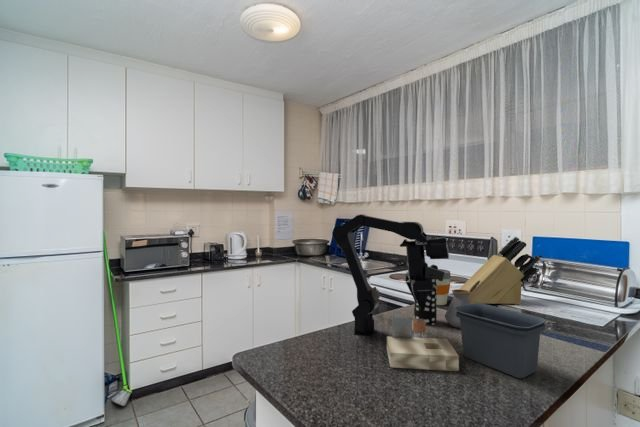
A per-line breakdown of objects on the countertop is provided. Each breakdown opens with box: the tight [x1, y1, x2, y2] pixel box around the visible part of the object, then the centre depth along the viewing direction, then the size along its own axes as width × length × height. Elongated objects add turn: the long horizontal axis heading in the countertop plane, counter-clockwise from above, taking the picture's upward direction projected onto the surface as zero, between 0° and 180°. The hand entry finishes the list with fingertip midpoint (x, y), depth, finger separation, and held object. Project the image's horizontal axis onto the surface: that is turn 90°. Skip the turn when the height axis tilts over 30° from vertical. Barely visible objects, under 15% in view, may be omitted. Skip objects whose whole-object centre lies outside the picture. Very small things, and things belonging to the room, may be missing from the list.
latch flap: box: [391, 316, 413, 338], centre depth 100 cm, size 6×6×1 cm
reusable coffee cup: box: [437, 268, 452, 306], centre depth 154 cm, size 13×13×15 cm
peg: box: [412, 318, 427, 338], centre depth 108 cm, size 4×4×7 cm
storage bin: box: [455, 303, 548, 379], centre depth 92 cm, size 21×16×14 cm
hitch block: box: [386, 335, 460, 372], centre depth 94 cm, size 18×12×4 cm, turn 83°
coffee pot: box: [444, 281, 483, 329], centre depth 126 cm, size 21×12×15 cm, turn 129°
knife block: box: [458, 236, 541, 305], centre depth 156 cm, size 11×35×31 cm, turn 89°
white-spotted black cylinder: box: [413, 277, 438, 326], centre depth 127 cm, size 8×8×20 cm
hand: (420, 306), depth 108 cm, fingers open, 9 cm apart
